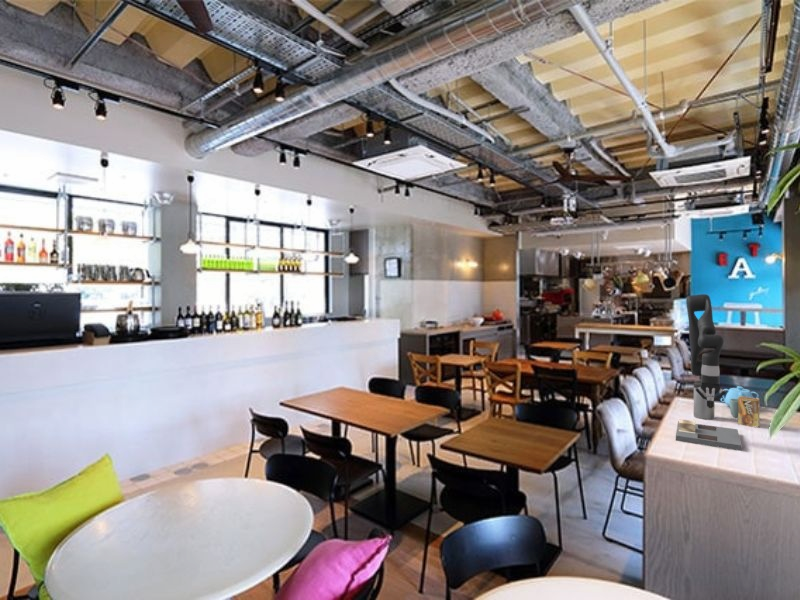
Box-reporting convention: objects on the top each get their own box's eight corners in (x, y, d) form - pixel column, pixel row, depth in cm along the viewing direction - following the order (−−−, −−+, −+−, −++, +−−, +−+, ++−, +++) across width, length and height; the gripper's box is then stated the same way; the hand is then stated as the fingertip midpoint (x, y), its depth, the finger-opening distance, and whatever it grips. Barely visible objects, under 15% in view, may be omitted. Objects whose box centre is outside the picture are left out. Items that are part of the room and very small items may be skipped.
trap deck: (737, 434, 227) (737, 429, 227) (741, 450, 204) (741, 445, 204) (678, 425, 242) (678, 421, 242) (675, 440, 219) (675, 435, 219)
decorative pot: (763, 411, 268) (763, 389, 267) (738, 412, 267) (738, 389, 266) (741, 404, 284) (741, 383, 284) (717, 405, 283) (717, 384, 283)
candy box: (759, 426, 240) (759, 398, 239) (758, 427, 237) (758, 399, 236) (739, 422, 246) (739, 395, 246) (737, 424, 243) (738, 396, 243)
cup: (731, 418, 254) (731, 401, 254) (728, 414, 261) (728, 398, 261) (748, 419, 251) (748, 402, 251) (745, 416, 258) (745, 399, 258)
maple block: (695, 428, 228) (695, 421, 228) (695, 432, 223) (695, 424, 223) (679, 426, 232) (679, 419, 232) (678, 430, 227) (678, 422, 227)
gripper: (726, 373, 221) (726, 407, 221) (694, 371, 228) (694, 404, 229) (727, 376, 214) (726, 411, 215) (694, 374, 222) (694, 407, 223)
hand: (710, 407), depth 222 cm, fingers closed
